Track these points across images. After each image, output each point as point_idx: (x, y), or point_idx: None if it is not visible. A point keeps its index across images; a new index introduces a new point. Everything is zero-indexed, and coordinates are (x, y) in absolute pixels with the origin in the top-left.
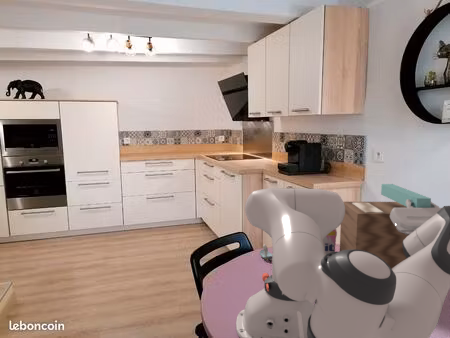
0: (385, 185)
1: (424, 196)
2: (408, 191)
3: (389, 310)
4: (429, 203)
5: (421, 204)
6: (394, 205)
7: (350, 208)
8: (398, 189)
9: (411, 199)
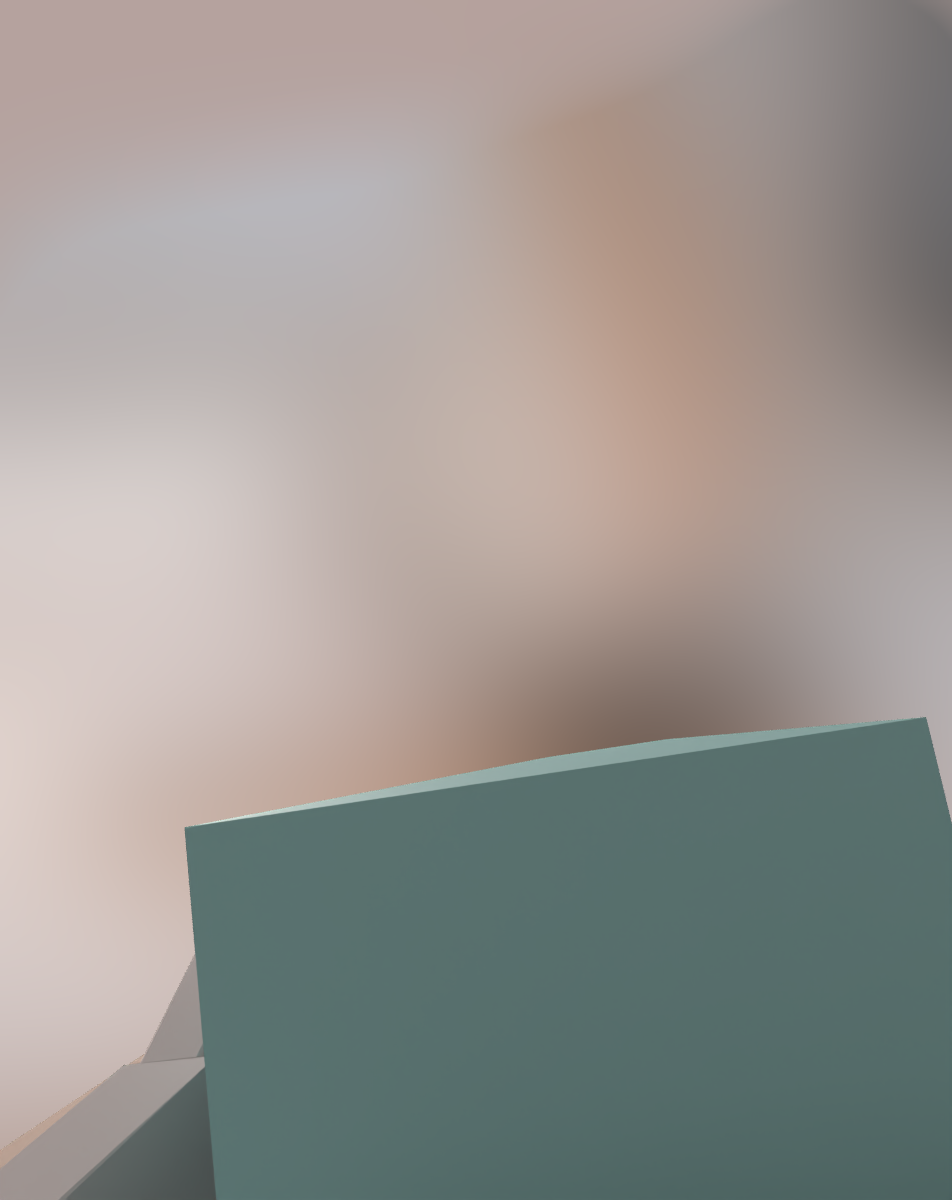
0: (542, 758)
1: (767, 733)
2: (637, 746)
3: None
4: (935, 1048)
5: (473, 1161)
6: None
7: (24, 1136)
8: (557, 757)
9: None
